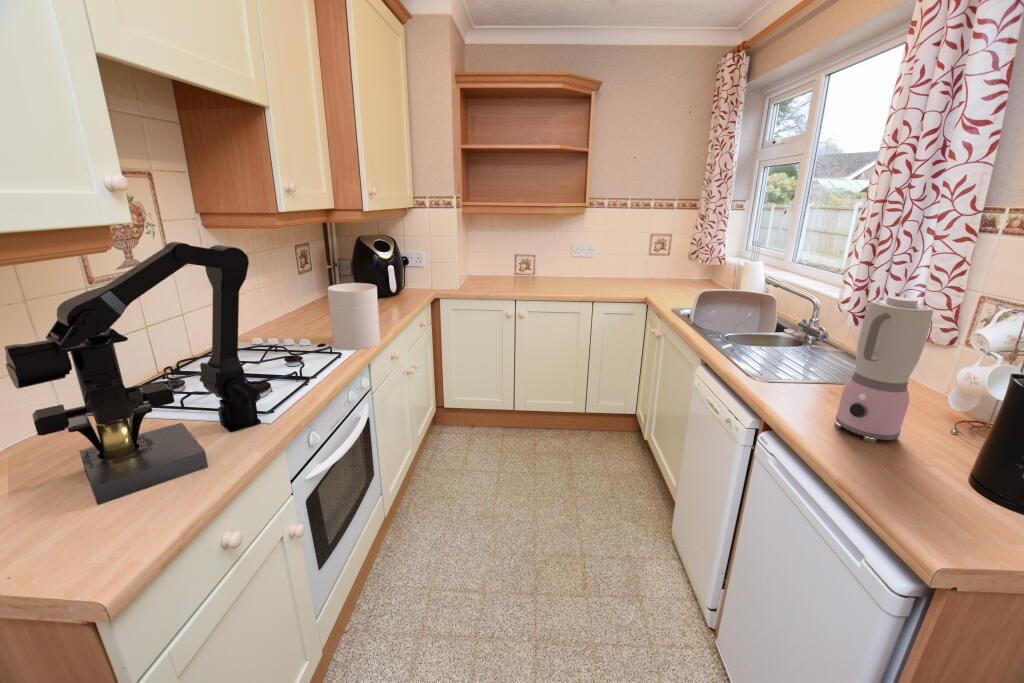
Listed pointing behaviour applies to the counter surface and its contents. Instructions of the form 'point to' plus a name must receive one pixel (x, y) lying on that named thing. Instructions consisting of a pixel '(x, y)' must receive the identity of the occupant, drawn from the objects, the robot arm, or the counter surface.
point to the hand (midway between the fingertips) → (118, 448)
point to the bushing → (116, 439)
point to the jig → (144, 463)
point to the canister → (354, 315)
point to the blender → (884, 368)
